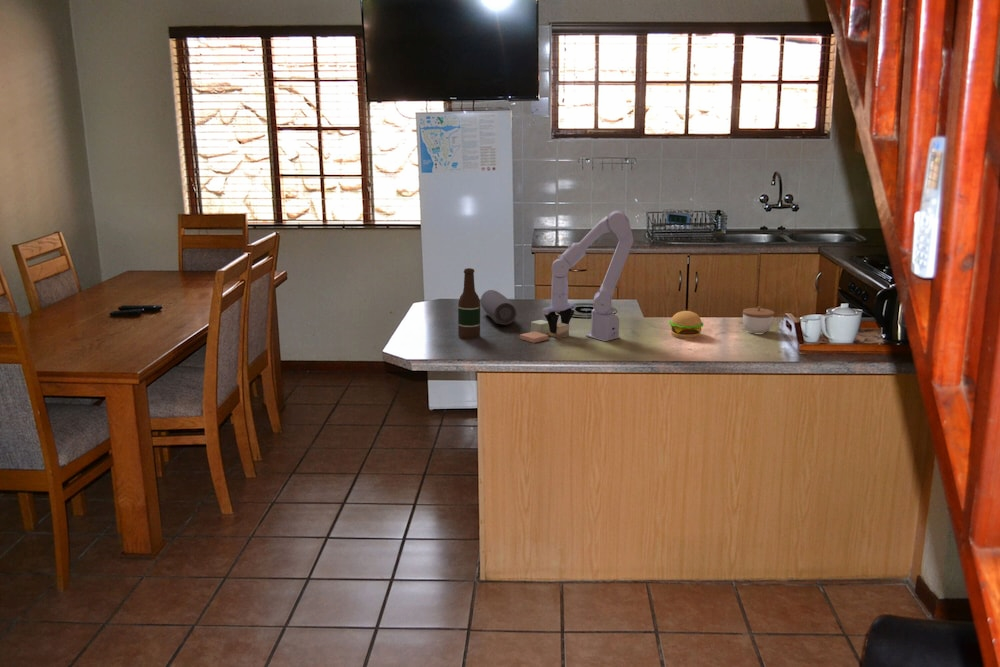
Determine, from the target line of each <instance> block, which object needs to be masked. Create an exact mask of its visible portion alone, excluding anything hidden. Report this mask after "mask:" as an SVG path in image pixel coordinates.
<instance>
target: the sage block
mask: <svg viewBox="0 0 1000 667" xmlns="http://www.w3.org/2000/svg"><path fill="white" fill-rule="evenodd" d="M534 331H535V332H539V333H543V334H546V335H549V324H548V321H547V320H544V319H538V320H533V321H530V332H534Z"/></svg>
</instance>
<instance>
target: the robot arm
mask: <svg viewBox="0 0 1000 667" xmlns="http://www.w3.org/2000/svg"><path fill="white" fill-rule="evenodd" d="M611 231H612V232H613V233H614V234H615V236H616V237H617V238H616V239H617V240H618V242H617V245H616V248H615V251H614V253H613V255H612V258H611V260H610V263H609V266H608V269H607V271H606V273H605V276H604V279H603V281H602V284H600V287H599V290H598V291H596V292H595V294H594V296H593V302H592V304H593V306H592V308H593V309H591V320H590V321H591V322H590V323H591V324H590V326H591V328H590V333H588V334H587V333H586V334H585V336H586V337H588V338H593V339H595V340H599V341H603V342H609V341H612V340H614V339H619V338H621V336H620V318H619V316H618V315H616V314H614V312H613V309H612V307H613V304H612V300H613V296H614V293H615V290H616V287H617V284H618V281H619V279H620V276H621V273H622V272H623V269H624V267H625V264H626V262H627V259H628V256H629V254H630V251H631V249H632V246H633V244H634V236H633V231H632V228H631V224H630V219H629V218H628V217H627V215H626V214H625V212H624V211H623V210H620V209H614V210H612V211H610V212H609V214H608V215H605V216H603V218H602V219H601V220H600V221H598V222H597V223H596V224H595V225H594V226H593V227H592V229H590V230H589V232H588V233H587V234H586V235H585V236H584V237H583V238H582V239H581V240H580V241H579V242H572V244H571V243H569V244H568V246H567V249H566V250H565V251H564V252H563V253H562V254H559V255H558V256H557V259H555V260H554V261H553V262H552V264H551V273H552V275H551V288H550V289H551V291H550V292H551V296H550V297H551V298H550V301H551V302H550V304H549V306H546V307H543V308H542V310H541V312H542V315H544V317H545V319H546V321H548V324H549V328H550V332H551V333H556V330H557V322H559V317H560V322H561V323H565V324H569V325H570V322H571V320H572V317H573V316H574V314H575V311H574V310H576V309H577V308H576V307H577V303H576V302H568V301H569V300H568V299H569V293H568V292H569V279H568V273H569V271H570V270H569V269H570V268H574V267H575V265H576V264H577V263H578V262H580V261H581V259H583V257H585V256H586V249H587V248H588V247H590V246H591V245H592V244H593V243H594V242H595V241H596V240H598V238H599V237H601V236H602V235H604V234H610V233H611ZM557 313H559V314H557Z"/></svg>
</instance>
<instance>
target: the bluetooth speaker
mask: <svg viewBox="0 0 1000 667" xmlns="http://www.w3.org/2000/svg"><path fill="white" fill-rule="evenodd" d="M480 306H481V307H482V309H483V310H484V312H486V314H487V316H488V317H490V318H491V320H492V321H493V322H494V323H495V324H498V325H503V326H504V325H510V324H512V323H513V322H514V321H515V319H516V318H517V310H516V309H517V308H516V307H515V306H514V304H513V303H512V301H511V300H509V299H508V298H507V297H506V296H505V295H503V294H502V293H500V292H499V291H496V290H495V289H493V290H492V289H489V290H486V291H484V293H483V294H482V295H481V296H480Z"/></svg>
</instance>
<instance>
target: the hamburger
mask: <svg viewBox="0 0 1000 667" xmlns="http://www.w3.org/2000/svg"><path fill="white" fill-rule="evenodd" d="M668 325H670V327H671V330H670V333H671V335H672V336H673V337H675V338H677V337H678V339H683V338H692V339H697V338H699V337H700V335H701V332H702V327H703V326H704V323H703V321H702V319H701V317H700V316H699V314H697V313H696V312H693V311H691V310H682V311H678V312H676V313H675V314H674V315H673V316H672V318H671V320H669V321H668ZM696 337H697V338H696Z"/></svg>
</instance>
